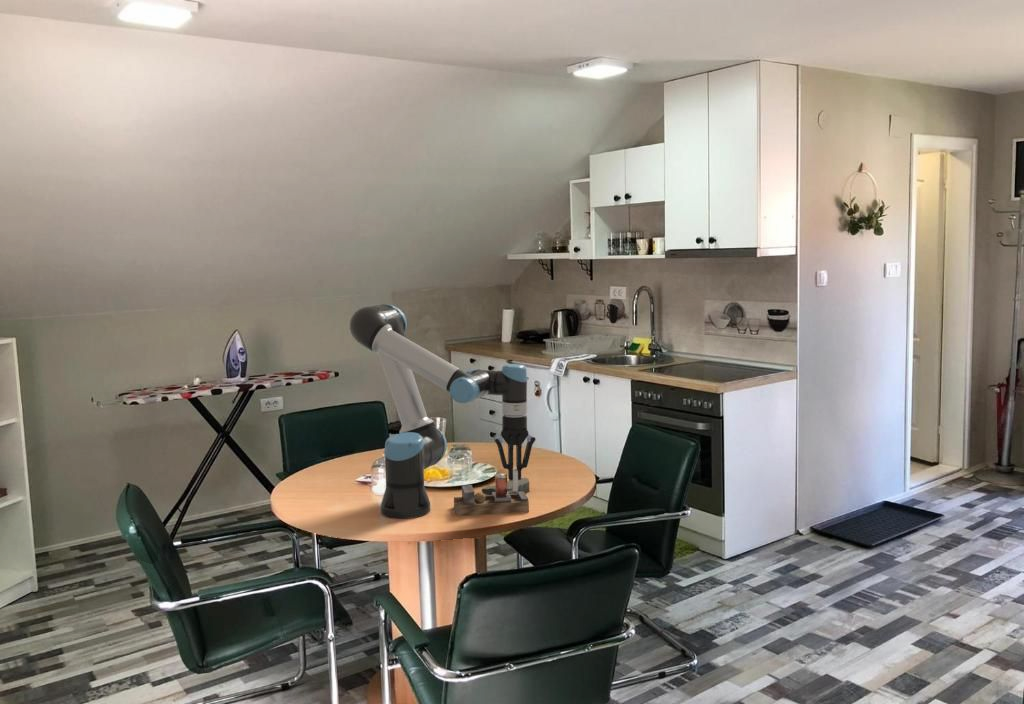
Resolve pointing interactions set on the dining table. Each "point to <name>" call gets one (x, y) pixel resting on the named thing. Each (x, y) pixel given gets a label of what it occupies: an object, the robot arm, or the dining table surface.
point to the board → (488, 504)
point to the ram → (501, 489)
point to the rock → (510, 487)
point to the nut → (479, 498)
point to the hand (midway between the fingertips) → (514, 490)
